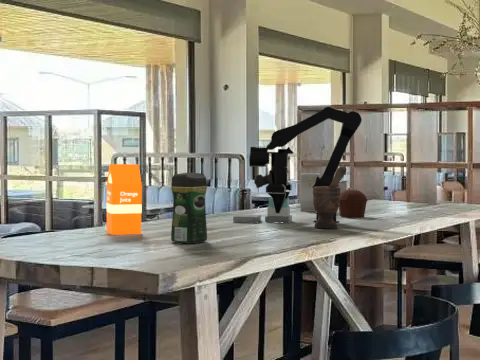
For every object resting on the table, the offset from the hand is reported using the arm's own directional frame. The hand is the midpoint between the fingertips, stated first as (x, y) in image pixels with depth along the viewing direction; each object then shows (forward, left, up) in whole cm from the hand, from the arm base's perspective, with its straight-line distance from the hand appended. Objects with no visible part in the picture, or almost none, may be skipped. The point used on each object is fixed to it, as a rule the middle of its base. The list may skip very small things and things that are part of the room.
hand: (278, 212), depth 269 cm
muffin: (+1, -37, -3) cm, 37 cm away
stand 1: (+6, +9, -3) cm, 11 cm away
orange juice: (-1, +61, -3) cm, 61 cm away
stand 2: (0, 0, -3) cm, 3 cm away
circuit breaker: (+31, -44, -3) cm, 54 cm away
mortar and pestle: (-25, 0, -3) cm, 25 cm away
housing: (0, 0, -1) cm, 1 cm away
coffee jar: (-30, +58, -3) cm, 65 cm away
